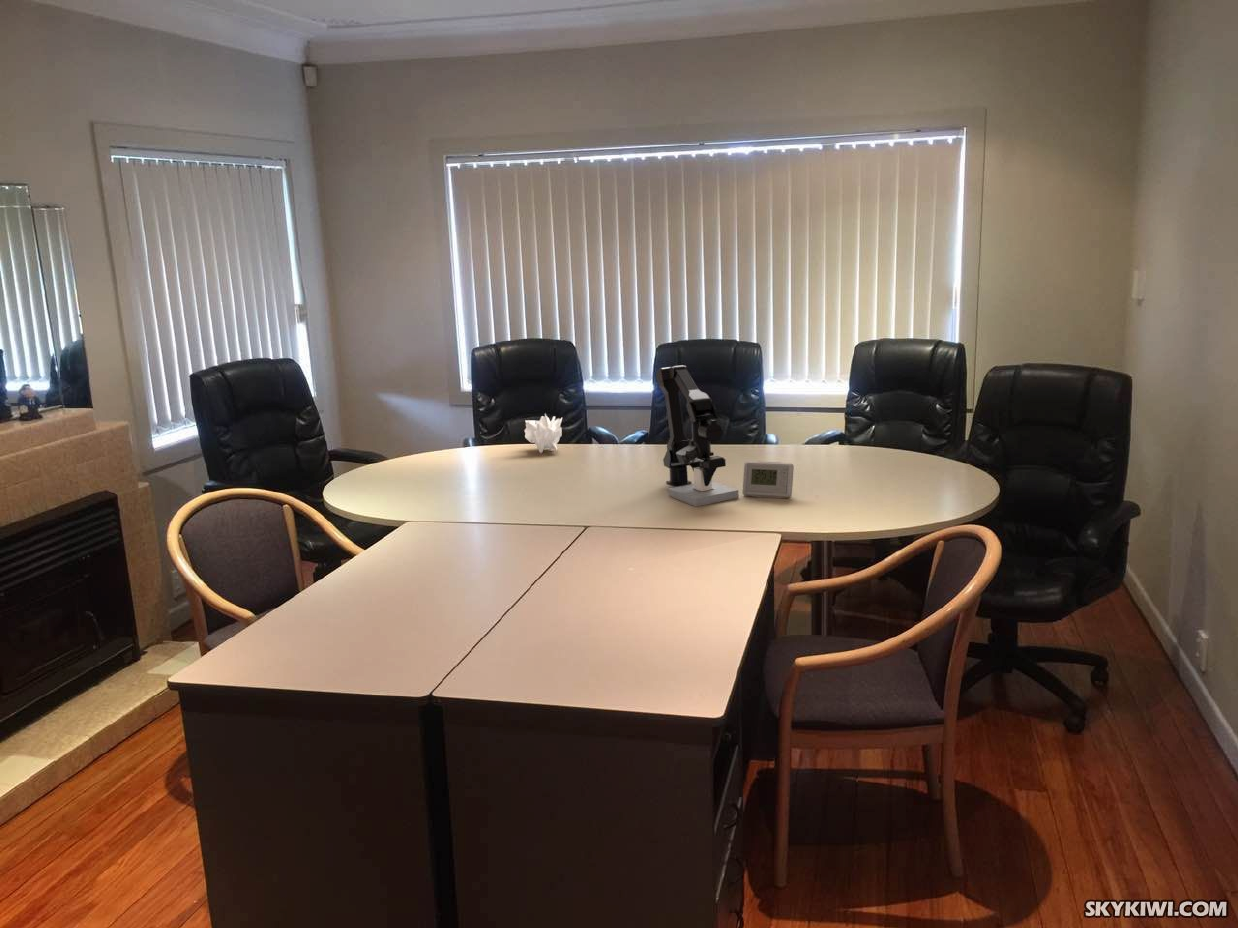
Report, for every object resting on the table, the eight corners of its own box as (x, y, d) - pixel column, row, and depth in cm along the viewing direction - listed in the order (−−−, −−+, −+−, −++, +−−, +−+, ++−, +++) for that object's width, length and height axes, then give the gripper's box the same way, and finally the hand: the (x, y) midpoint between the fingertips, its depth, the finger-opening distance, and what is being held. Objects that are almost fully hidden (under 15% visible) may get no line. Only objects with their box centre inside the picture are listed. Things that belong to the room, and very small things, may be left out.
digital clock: (739, 496, 327) (738, 463, 324) (752, 489, 334) (751, 457, 332) (786, 501, 318) (785, 468, 315) (798, 494, 325) (798, 462, 322)
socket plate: (669, 496, 332) (668, 488, 331) (710, 487, 339) (710, 480, 338) (695, 506, 318) (695, 498, 317) (738, 497, 325) (738, 490, 324)
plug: (694, 488, 329) (693, 461, 327) (705, 486, 330) (704, 459, 328) (701, 491, 325) (700, 463, 323) (711, 489, 327) (710, 461, 325)
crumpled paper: (576, 418, 407) (547, 399, 399) (562, 456, 401) (532, 438, 393) (549, 425, 423) (520, 408, 415) (535, 462, 416) (506, 445, 409)
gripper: (664, 435, 328) (666, 483, 332) (695, 445, 312) (697, 494, 316) (693, 431, 333) (695, 477, 337) (726, 439, 317) (727, 488, 321)
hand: (702, 484), depth 327 cm, fingers closed on plug, 4 cm apart
